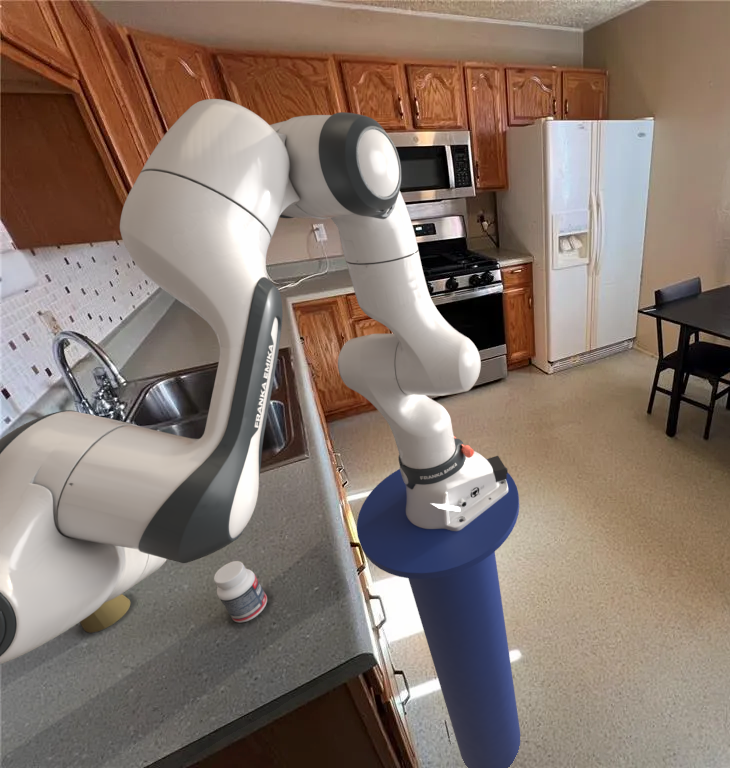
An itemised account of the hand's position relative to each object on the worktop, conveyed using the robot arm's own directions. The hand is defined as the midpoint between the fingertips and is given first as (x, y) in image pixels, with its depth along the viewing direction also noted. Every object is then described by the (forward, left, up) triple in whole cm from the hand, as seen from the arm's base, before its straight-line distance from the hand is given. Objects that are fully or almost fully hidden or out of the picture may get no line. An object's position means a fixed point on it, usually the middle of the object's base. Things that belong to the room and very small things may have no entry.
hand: (186, 511), depth 55 cm
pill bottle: (0, -2, -23) cm, 24 cm away
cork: (+20, -16, -23) cm, 35 cm away
